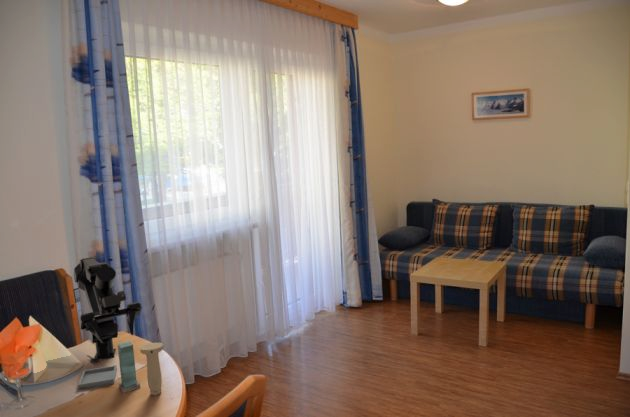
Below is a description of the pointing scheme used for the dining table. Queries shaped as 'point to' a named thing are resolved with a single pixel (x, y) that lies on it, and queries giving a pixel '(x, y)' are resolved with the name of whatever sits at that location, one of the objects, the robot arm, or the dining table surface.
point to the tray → (98, 377)
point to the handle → (153, 366)
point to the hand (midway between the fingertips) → (117, 338)
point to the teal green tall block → (127, 367)
